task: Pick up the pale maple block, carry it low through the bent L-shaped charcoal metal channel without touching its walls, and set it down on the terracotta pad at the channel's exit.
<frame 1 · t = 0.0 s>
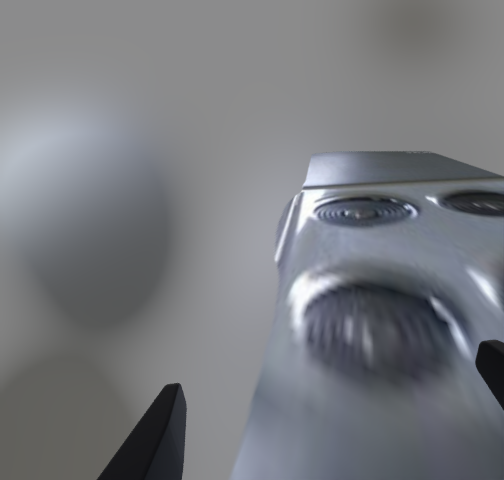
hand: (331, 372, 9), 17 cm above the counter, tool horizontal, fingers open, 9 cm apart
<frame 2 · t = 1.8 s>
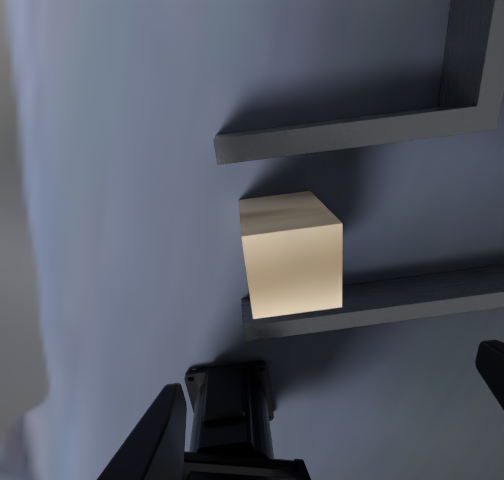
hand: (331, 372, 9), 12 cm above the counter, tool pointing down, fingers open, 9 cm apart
channel: (432, 129, 18), on the counter
maple block: (277, 228, 20), on the counter
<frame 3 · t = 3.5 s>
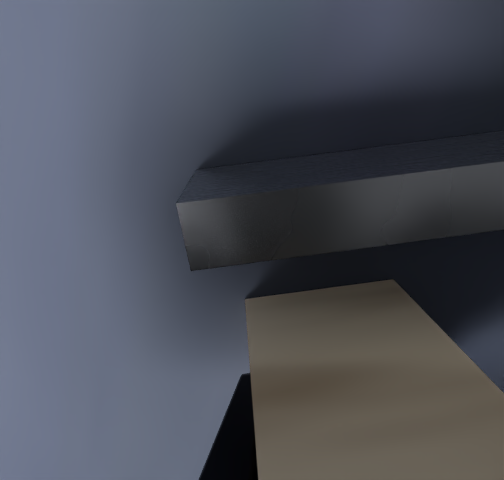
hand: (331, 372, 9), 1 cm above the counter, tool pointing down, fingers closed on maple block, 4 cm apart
maple block: (321, 347, 10), on the counter, touching gripper
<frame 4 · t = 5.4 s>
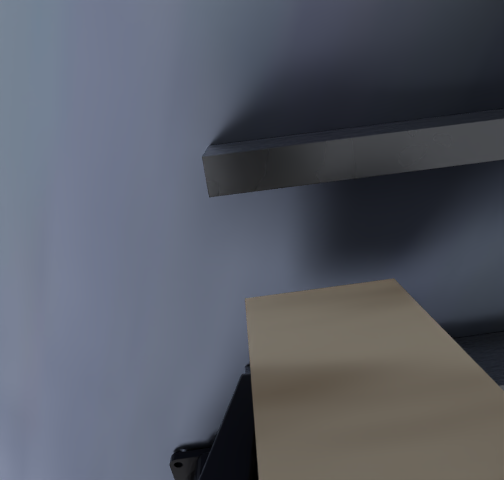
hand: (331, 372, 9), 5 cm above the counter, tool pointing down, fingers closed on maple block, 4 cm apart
maple block: (321, 346, 10), point 4 cm above the counter, touching gripper
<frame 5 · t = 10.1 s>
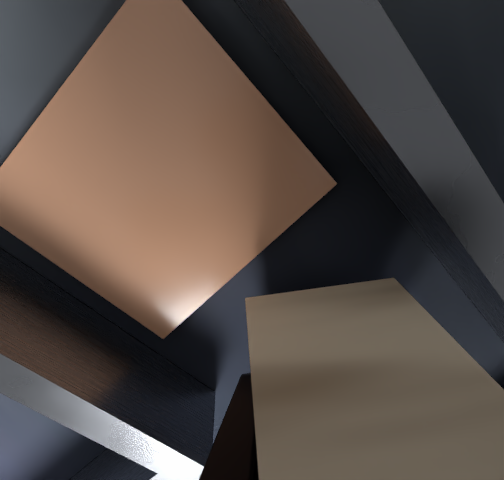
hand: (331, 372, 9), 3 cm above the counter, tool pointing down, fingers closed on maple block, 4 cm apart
channel: (192, 410, 13), on the counter
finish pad: (161, 191, 9), on the counter
maple block: (321, 346, 10), point 2 cm above the counter, touching gripper
when the fingers open (2 cm above the counter, at t = 12.1 s): maple block stays where it is, resting on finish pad.
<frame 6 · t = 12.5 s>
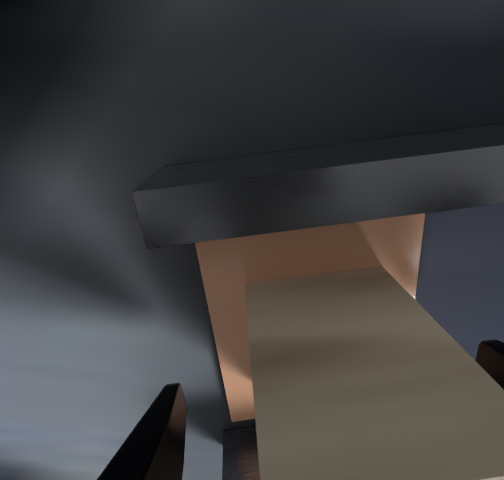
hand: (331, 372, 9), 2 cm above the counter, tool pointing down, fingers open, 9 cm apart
channel: (470, 417, 14), on the counter
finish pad: (311, 324, 11), on the counter
maple block: (315, 330, 11), resting on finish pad
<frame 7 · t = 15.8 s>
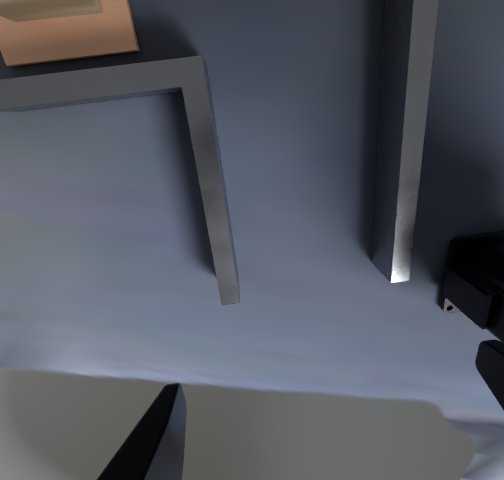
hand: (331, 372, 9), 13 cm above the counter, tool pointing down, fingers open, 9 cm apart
channel: (210, 92, 18), on the counter
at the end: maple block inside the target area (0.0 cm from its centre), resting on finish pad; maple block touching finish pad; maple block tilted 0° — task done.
